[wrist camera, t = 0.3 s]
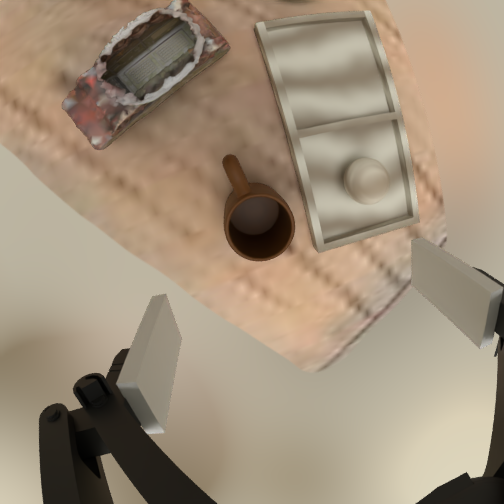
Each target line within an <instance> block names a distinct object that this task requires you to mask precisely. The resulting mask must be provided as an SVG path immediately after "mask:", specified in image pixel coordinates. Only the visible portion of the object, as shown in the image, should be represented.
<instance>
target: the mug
mask: <svg viewBox="0 0 504 504" xmlns="http://www.w3.org/2000/svg"><path fill="white" fill-rule="evenodd" d="M222 164H223V167H224V169H225V172H226V174H227V176H228V178H229V180H230V182H231V184H232V186H233V189H234V191H233V192H232V193H231V195H230V196H229V198H228V200H227V202H226V205H225V211H224V231H225V235H226V238H227V241H228V243H229V245H230V246H231V248H232V249H233V250H234V251H235V252H236V253H237V254H238V255H240V256H241V257H243V258H245V259H248V260H252V261H266V260H270V259H273V258H275V257H277V256H279V255H280V254H282V253H283V252H284V251H285V250H286V249H287V248H288V246H289V245H290V243H291V241H292V239H293V236H294V232H295V221H294V217H293V214H292V212H291V210H290V208H289V206H288V204H287V203H286V202H285V200H284V199H283V198H282V197H281V196H280V195H279V194H278V193H277V192H276V191H274V190H273V189H272V188H270V187H269V186H267V185H265V184H261V183H248V181H247V179H246V176H245V174H244V172H243V170H242V168H241V166H240V163H239V161H238V159H237V158H236V156H234V155H231V154H229V155H226V156H225V157H224V158H223V161H222Z"/></svg>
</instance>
